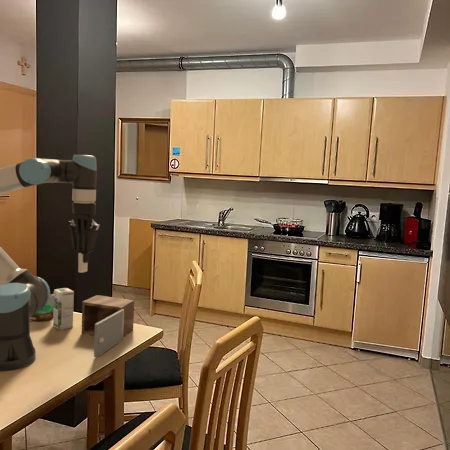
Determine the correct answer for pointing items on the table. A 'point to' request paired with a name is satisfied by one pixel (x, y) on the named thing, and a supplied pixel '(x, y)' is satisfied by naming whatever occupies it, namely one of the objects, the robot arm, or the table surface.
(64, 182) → the robot arm
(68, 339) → the table surface
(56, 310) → the syrup box
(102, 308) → the cabinet
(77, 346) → the table surface
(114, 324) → the door
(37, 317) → the food container
